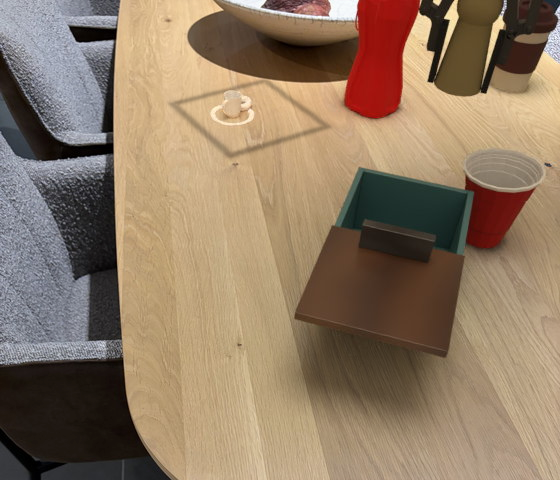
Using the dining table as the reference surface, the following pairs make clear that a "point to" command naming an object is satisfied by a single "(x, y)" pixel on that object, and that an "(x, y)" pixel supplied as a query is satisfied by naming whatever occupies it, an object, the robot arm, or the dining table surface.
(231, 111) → the teacup and saucer
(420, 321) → the sliding lid
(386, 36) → the water bottle
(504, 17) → the coffee cup
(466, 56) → the brown pawn
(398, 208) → the storage box
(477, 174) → the plastic cup
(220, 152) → the dining table surface
